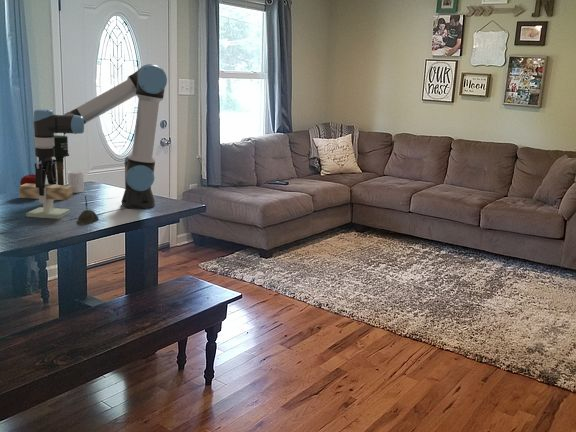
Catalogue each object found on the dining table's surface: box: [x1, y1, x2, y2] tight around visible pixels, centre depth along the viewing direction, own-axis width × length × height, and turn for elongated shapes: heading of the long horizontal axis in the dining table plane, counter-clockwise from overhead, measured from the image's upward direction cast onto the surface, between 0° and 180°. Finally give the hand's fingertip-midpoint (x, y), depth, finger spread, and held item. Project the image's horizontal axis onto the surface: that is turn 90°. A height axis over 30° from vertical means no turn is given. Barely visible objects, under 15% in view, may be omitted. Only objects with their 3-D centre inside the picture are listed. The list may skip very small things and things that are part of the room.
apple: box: [19, 173, 35, 186], centre depth 282 cm, size 11×11×12 cm
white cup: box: [66, 170, 85, 194], centre depth 299 cm, size 8×8×10 cm
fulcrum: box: [25, 199, 71, 220], centre depth 253 cm, size 14×11×8 cm
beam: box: [18, 183, 74, 201], centre depth 252 cm, size 20×6×5 cm, turn 89°
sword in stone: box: [77, 195, 99, 225], centre depth 246 cm, size 10×8×12 cm
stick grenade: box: [53, 134, 70, 185], centre depth 278 cm, size 8×9×30 cm
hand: (47, 201), depth 253 cm, fingers closed on beam, 6 cm apart
